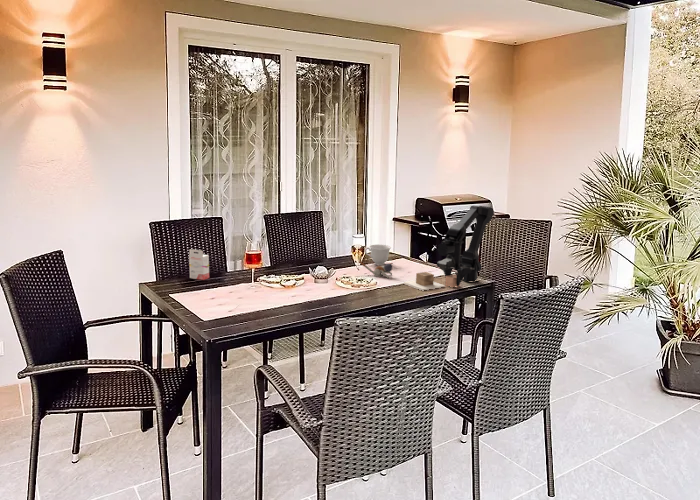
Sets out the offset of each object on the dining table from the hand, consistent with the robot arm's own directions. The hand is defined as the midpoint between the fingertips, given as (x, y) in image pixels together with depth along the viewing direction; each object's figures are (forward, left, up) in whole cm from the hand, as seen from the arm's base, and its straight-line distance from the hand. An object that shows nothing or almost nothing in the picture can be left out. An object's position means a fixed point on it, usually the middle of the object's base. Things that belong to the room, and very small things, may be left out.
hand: (452, 284), depth 287 cm
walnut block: (+12, -7, 0) cm, 14 cm away
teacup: (+6, -55, -1) cm, 55 cm away
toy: (+22, -35, -1) cm, 41 cm away
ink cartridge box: (+103, -70, -1) cm, 125 cm away
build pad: (+12, -7, -1) cm, 14 cm away
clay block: (0, 0, -1) cm, 1 cm away
